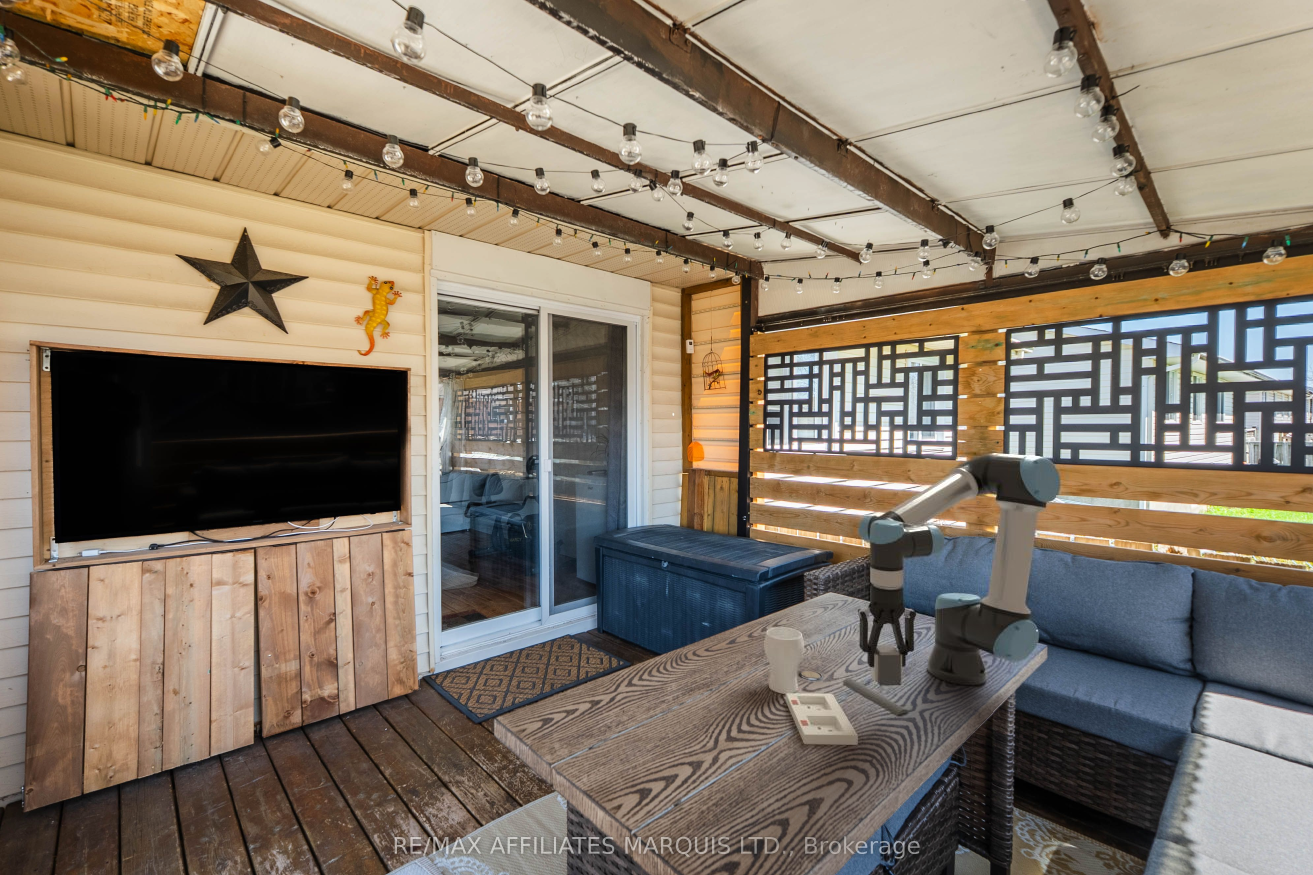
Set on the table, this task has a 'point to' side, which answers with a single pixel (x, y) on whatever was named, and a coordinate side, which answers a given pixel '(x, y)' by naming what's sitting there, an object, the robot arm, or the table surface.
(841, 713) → the socket plate
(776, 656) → the cup
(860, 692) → the gray half cylinder
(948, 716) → the table surface
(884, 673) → the plug
